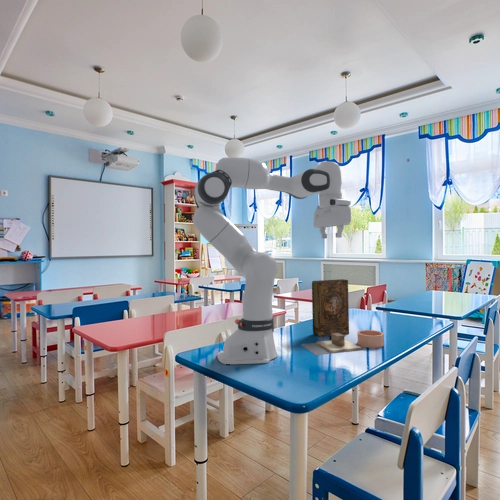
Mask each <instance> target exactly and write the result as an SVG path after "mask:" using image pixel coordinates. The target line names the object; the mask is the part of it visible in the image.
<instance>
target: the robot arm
mask: <svg viewBox="0 0 500 500" xmlns="http://www.w3.org/2000/svg"><path fill="white" fill-rule="evenodd" d="M341 171H342V170H341V168H340V165H339V164H338V163H336V162H334V161H332V160H331V161H330V160H329V161H327V160H326V161H325V160H324V161H322V162H320V163H319V164H318V165H316V166H315V167H312V168H308V169H306V170H304V171H302V172H300V173H299V174H296V175H293V176H283V175H278V174H275V173H274V174H273V173H272V172H270V171H269V168H268V166H267V165H266V164H265V162H263V161H260V160H257V159H253V158H247V157H246V158H245V157H236V156H235V157H232V156H230V157H229V156H228V157H223V158H221V159H219V160H218V161H217V164H216V166H215V170H214V171H211V172H209V173H206V174H205V175H203V176H202V177H201V178H200V179H199V180H198V181H197V182H196V184H195V186H194V189H193V198H194V202H195V205H196V208H197V209H196V211H195V212H194V214H193V215H192V224H193V226H194V227H195V228H196V230H197V231H198V232H199V233H200V234H201V236H202V237H203V238H204V239H205V240H206V241H207V242H208V243H209V245H211V246H212V247H213V248H214V249H215V250H217V251H218V253H220V254H221V255H222V256H223V257H224V258H225V259H226V261H227V262H228V263H229V264H230V265H231V266H232V267H233V268H234V270H235V271H237V273H238V274H240V275H241V277H243V278H244V279H245V284H244V291H243V295H242V318H241V319H240V318H235V319H234V322H235V324H236V325H237V329H236V330H235V331H234V332H233V333H231V334H230V335H228V337H226V339H224V342H223V347H222V350H220V351H218V353H217V360H218V361H219V363H221V364H223V365H226V364H230V365H252V364H253V365H255V364H268V363H269V362H270V361H271V360H273V359H275V358H277V357H278V352H277V348H276V343H275V338H274V332H275V321H274V317H273V291H274V285H275V278H276V276H277V273H278V270H279V269H278V268H279V267H278V262H277V261H276V259H275V258H274V256H272V255H270V254H269V253H267V252H261V251H258V250H256V249H255V248H254V246H253V245H252V243H251V242H250V241H249V240H248V238H247V236H246V235H245V234H244V233H243V232H242V231H241V230H240V229H239V228H238V227H237V226H236V225H235V224H234V223H233V222H232V221H231V220H230V219H228V218H227V216H226V215H225V214H224V213H223V212H222V210H221V207H220V204H221V203H222V202H223V201H225V200H226V198H227V196H228V194H229V192H230V189H232V188H239V189H245V190H247V189H248V190H269V191H274V192H281V193H284V194H287V195H289V196H291V197H293V198H294V199H296V200H303V199H306V198H308V197H309V196H312V195H314V194H318V205H317V207H316V208H315V209H314V210H315V211H314V215H313V227H314V228H315V229H319V232H320V234H321V239H322V240H323V239H327V238H328V233H326V228H332V227H336V229H337V231H336V232H335V238H336V239H337V238H338V239H339V238H342V237H343V235H342V233H343V231H344V226H349V225H350V224H351V222H352V211H351V210H352V209H351V207H350V206H351V202H352V201H351V200H350V199H348V198H344V197H343V195H342V190H341V189H342V184H343V183H342V181H343V180H342V172H341Z"/></svg>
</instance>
